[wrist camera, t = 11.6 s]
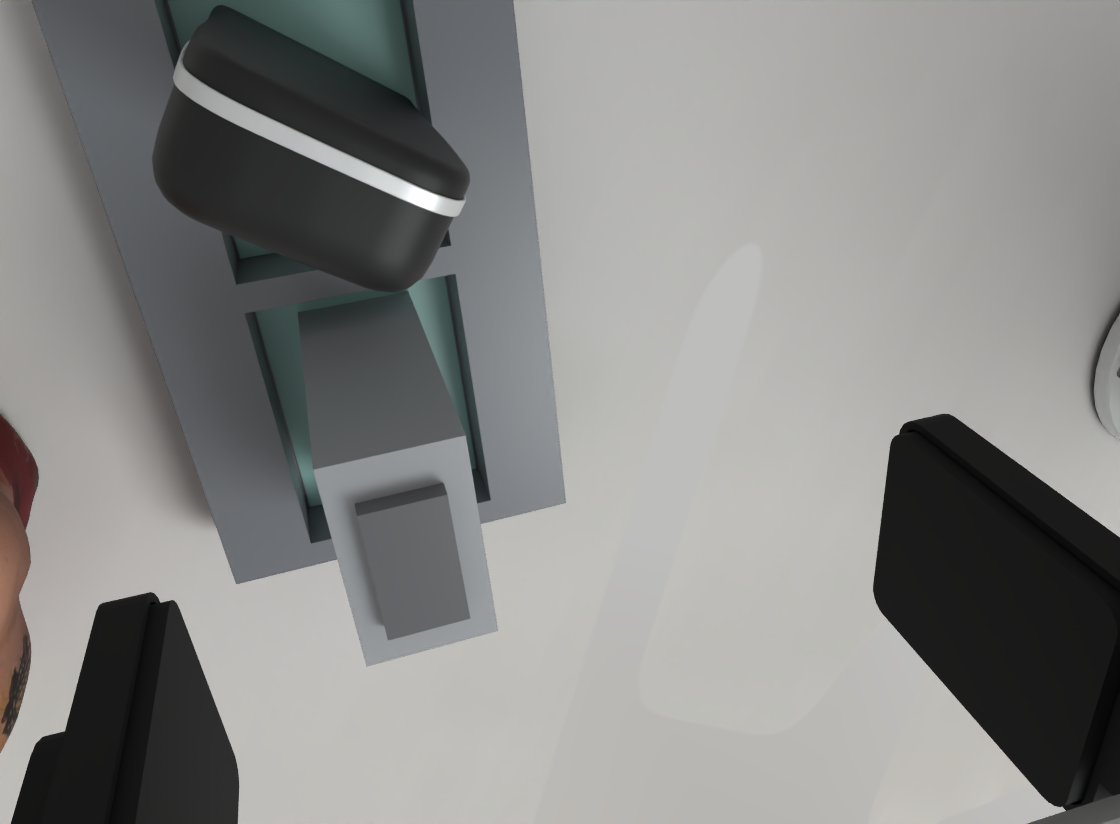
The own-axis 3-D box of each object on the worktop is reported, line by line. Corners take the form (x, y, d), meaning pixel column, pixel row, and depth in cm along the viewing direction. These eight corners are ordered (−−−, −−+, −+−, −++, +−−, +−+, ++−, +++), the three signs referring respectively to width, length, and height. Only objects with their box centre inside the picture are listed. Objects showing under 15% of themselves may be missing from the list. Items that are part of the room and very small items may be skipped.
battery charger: (165, 113, 28) (117, 216, 19) (208, -6, 27) (180, 38, 17) (374, 205, 31) (425, 334, 22) (420, 103, 30) (496, 190, 21)
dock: (474, -123, 29) (602, -145, 18) (543, 459, 40) (647, 658, 29) (33, -79, 26) (-123, -75, 15) (237, 530, 37) (229, 778, 26)
